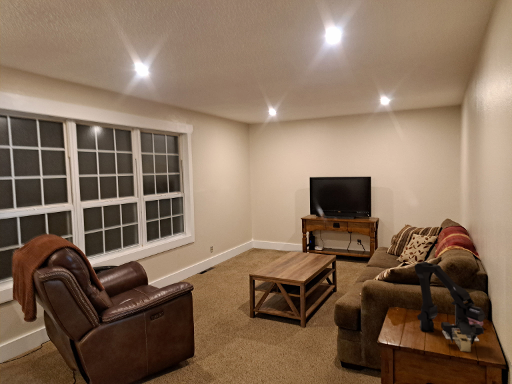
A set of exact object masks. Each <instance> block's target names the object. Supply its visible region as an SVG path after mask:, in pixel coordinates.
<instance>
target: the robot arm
mask: <svg viewBox="0 0 512 384" xmlns="http://www.w3.org/2000/svg"><path fill="white" fill-rule="evenodd" d="M414 271H415V274H416V275H417V277H418V278H419V285H420V291H421V298H422V304H421V307H420V313H419V314H417V315H416V316H417V317H416V318H417V319H418V320H419V329H420V331H421V332H425V333H434V330H435V323H434V321H433V320H435V318H436V317H437V316H438V313H439V310H438V306H437V305H435V304H434V303H433V299H432V291H431V284H430V278H429V277H430V276H431V273H433V274H434V276H436V277H437V279H438V280H439V282H441V283H442V284H443V286H444V287H446V289H447V290H448V291H449V295H450V297H451V298H452V300H453V301H452V302H451V303H450V304H451V305H453V306H455V307H454V308H455V309H454V310H455V311H454V312H455V313H454V319H455V321H454V325H452V324H451V323H450V322H446V321H442V322H441V323H440V327H441V329H442V331H445V332H446V333H448V334H449V336H450V339H449V340H450V342H451V344H454V339H453V336H452V333H453V332H452V329H454V330H458V331H460V333H461V334H462V335H471V341H470V342H471V345H473V344H474V342H475V341H474V340H475V338H476V337H477V338H478V336H481V335H483V334H485V330H484V327H483V326H481V325H480V324H475V323H474V324H469V319H468V318H471V319H473V320H476V321H479V322H482V321H483V322H484V320H485V318H486V314H485V312H484V310H483V308H482V307H479V306H475V305H476V304H475V302H474V301H473V299H472V297H471V295H470V293H469V291H467V290H466V289H465V288H463V286H462V287H461V286H460V285H458V284H457V283H456V282H455V281H454V280H453V279H452V278H451V277H450V276H449V275H448V274H447V273H446V272H445V271H444V269H442V266H441V265H439V264H435V263H431V262H427V261H421V262H416V263H415V264H414Z"/></svg>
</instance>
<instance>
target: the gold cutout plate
mask: <svg viewBox="0 0 512 384" xmlns="http://www.w3.org/2000/svg"><path fill="white" fill-rule="evenodd" d="M453 341H454V342H455V344H456V345H457V347H458V349H459V350H460V352H468V353H471V352H472V350H471V347H472V344H471V341H469V339H468V338H467V336H466V335H462V334H461V333H460V330H457V331H454V339H453Z"/></svg>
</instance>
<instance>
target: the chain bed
mask: <svg viewBox="0 0 512 384" xmlns="http://www.w3.org/2000/svg"><path fill="white" fill-rule="evenodd" d="M451 325H455V323H452V324H451ZM454 331H458V329H452V332H453V333H452V336H453V340H454ZM441 332H442V334H443V335H444V337H445V339H446V340H451V339H450V336H449V334H448V333H446V332H445V331H443V330H441ZM466 336H467V338H468V339H469V341H470V342H471V335H466ZM474 342H480V339H479V338H478V336H477V337H476V338H475V340H474Z"/></svg>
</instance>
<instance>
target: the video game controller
mask: <svg viewBox="0 0 512 384" xmlns="http://www.w3.org/2000/svg"><path fill="white" fill-rule="evenodd" d="M468 319H469V324H480V325H481V327H483V325H484V320H483V321H482V322H479V321H476V320H473V319H471V318H468Z"/></svg>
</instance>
